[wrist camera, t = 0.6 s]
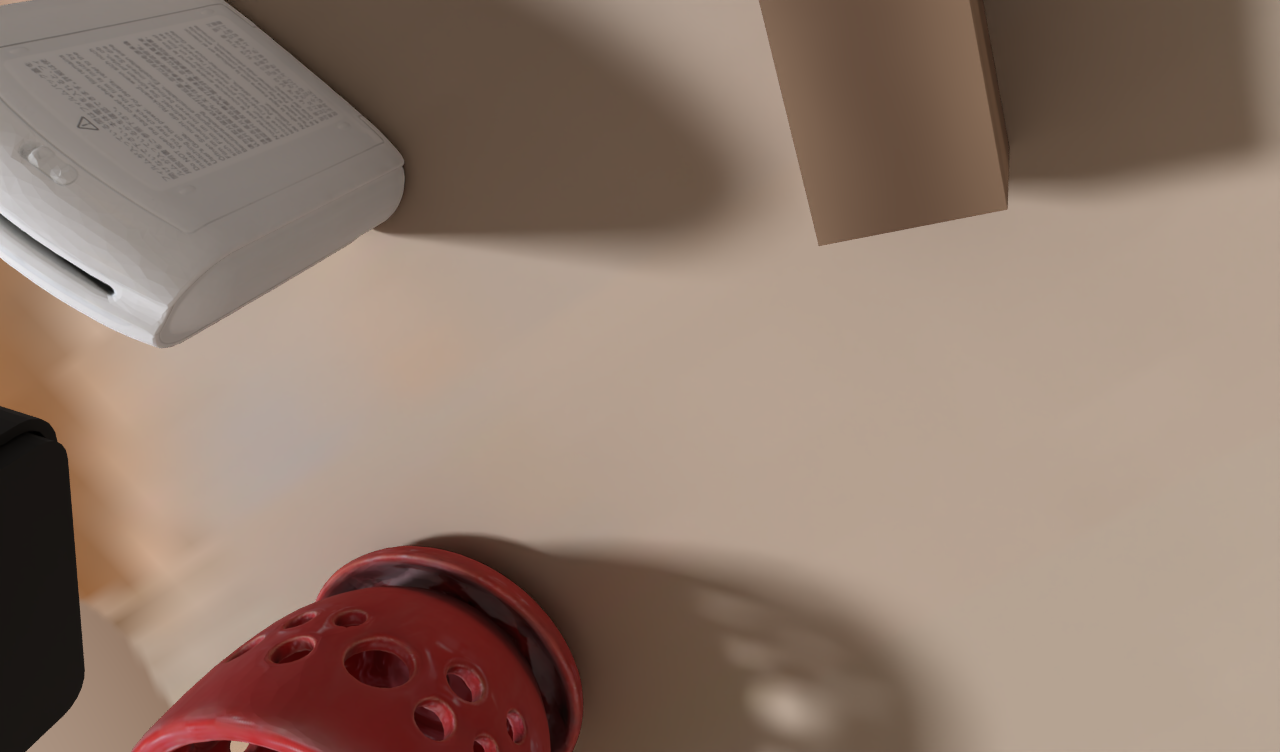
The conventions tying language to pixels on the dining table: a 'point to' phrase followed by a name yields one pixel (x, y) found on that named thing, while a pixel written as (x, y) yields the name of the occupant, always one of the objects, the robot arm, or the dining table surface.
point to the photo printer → (173, 161)
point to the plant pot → (391, 669)
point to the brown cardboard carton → (890, 111)
